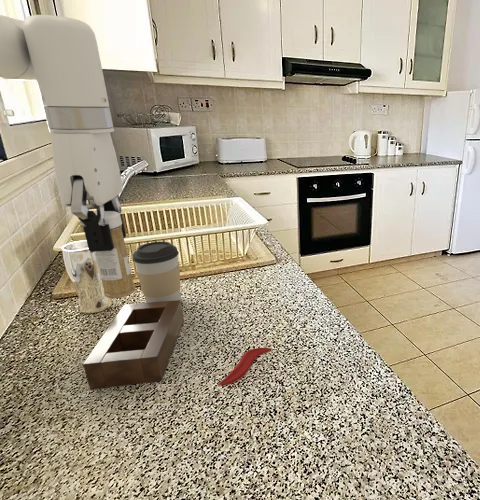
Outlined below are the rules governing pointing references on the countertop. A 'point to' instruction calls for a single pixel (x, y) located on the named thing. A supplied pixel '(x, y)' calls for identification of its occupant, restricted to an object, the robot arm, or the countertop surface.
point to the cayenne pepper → (243, 365)
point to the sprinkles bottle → (115, 261)
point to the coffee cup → (158, 271)
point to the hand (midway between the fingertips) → (108, 243)
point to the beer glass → (85, 277)
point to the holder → (135, 345)
